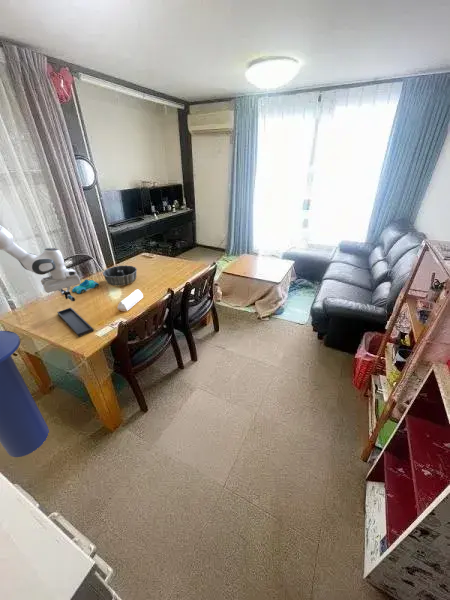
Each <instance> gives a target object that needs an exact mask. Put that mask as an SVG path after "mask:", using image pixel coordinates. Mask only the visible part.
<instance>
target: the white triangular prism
mask: <svg viewBox="0 0 450 600" xmlns="http://www.w3.org/2000/svg"><path fill="white" fill-rule="evenodd" d="M143 298H144V294H143V292H142V291H141V290H140V289H139V288H136V289H135V290H134V291H132V292H131V293H130V294H129V295H128V296H126V297H125V298H124V299H122V300H121V301H119V303H118V305H117V307H116V308H117V310H118V311H120V312H128V311H129V310H130V309H132V308H133V307H135V305H136V304H137V303H139V302H140V301H141V300H142V299H143Z"/></svg>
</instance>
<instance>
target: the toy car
mask: <svg viewBox="0 0 450 600" xmlns="http://www.w3.org/2000/svg"><path fill="white" fill-rule="evenodd" d="M99 285H100V283H99V282H97V281H95V280H93V279H84V281H83V282H81V283H80V284H78V285H74V286H73V287H72V289H71V292H72V293H76V294H77V295H80V294H81V293H82V294H83V293H85V292H87V291H88V292H89V291H90V290H92V289H95V288H97V287H98V286H99ZM99 287H100V286H99Z"/></svg>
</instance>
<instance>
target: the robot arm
mask: <svg viewBox="0 0 450 600" xmlns="http://www.w3.org/2000/svg"><path fill="white" fill-rule="evenodd" d="M0 250H1V251H3V252H5V253H7V254H8V255H10V256H11V257H13V258H14V259H16V260H17V261H18V262H19V263H20V265H21V266H22V268H24V269H25V270H27V271H30V272H32V273H34V274H36V275H43V276H44V275H46V274H50V275H49V276H47V277H46V276H45V277H42V279H41V280H40V283H41V285H42V286H43V290H44V292H45V293H48V294H49V293H53V292H56V291H58V292H60V294H61V296H65V294H64V292H62V290H61V289H63V290H64V289H66V290H65V291H66V292H70V290H71V287H75V286H78V285H80V284H81V283H82V282H81V281H82V280H81V278H80V276H79V274H77V271H76V270H75V269H74V268H67V266H66V265H65V260H64V256H63V254H62V252H61V250H60V249H58V248H56V247H55V248H54V247H46V248H44V249H43V251H42V252H41V253H40V254H39V255H38V254H35V253H32V252H31V253H30V252H28V251H26V250H25V249H24V248H22V247H21V246H19V245H18V244H16V243H15V242H14V236H13V234H12V233H11V232H9V230H7V229H6V228H5V227H4V226H3V225H1V224H0Z"/></svg>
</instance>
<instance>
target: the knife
mask: <svg viewBox="0 0 450 600" xmlns="http://www.w3.org/2000/svg"><path fill="white" fill-rule="evenodd" d="M61 290H62V292H64V294H65V295H64V298H65V299H66V300H68V299H69V300H70V302H75V301H76V298H75V297H74V296H72V295H71V291H69V292H66V291H67V290H64V288H63V289H61Z"/></svg>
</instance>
